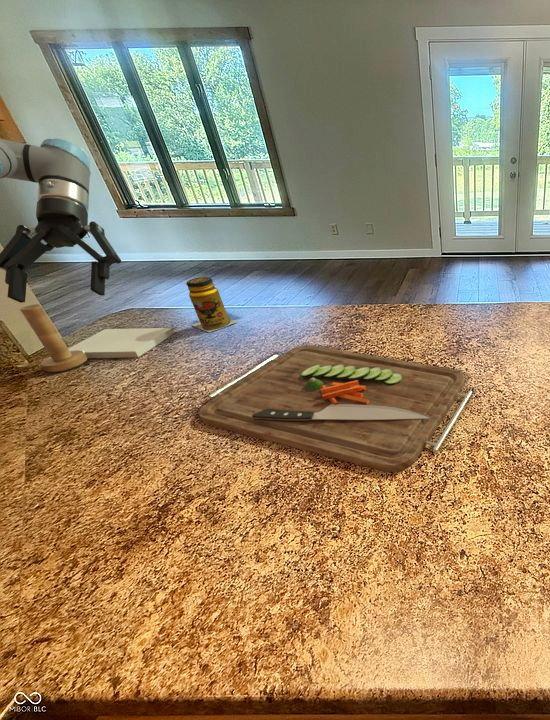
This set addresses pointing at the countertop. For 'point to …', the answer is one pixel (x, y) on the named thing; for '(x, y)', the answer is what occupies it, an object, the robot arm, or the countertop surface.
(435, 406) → the chopping board
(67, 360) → the brush
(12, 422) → the countertop surface
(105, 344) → the tile
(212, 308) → the condiment
